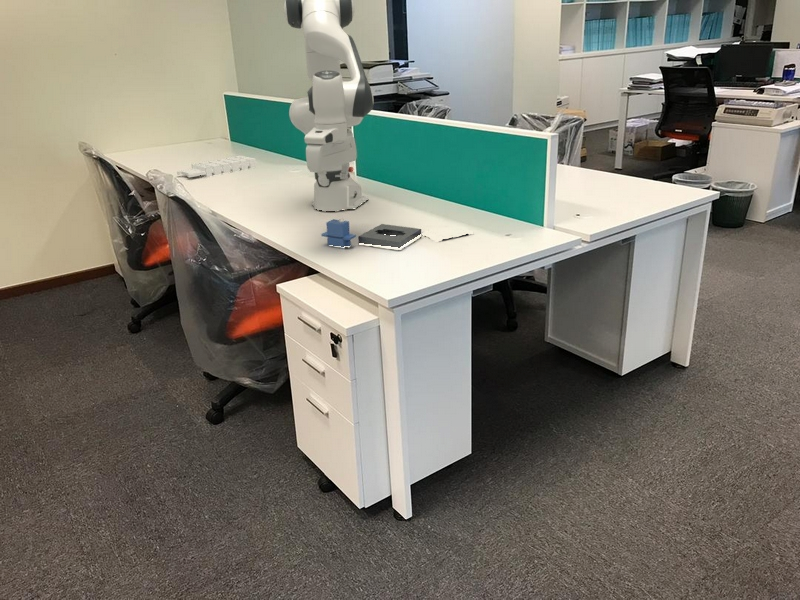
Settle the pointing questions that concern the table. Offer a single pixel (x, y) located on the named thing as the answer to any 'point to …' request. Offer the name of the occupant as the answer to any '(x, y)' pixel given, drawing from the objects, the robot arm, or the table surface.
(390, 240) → the plate
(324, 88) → the robot arm
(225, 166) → the organizer
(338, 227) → the block
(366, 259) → the table surface
